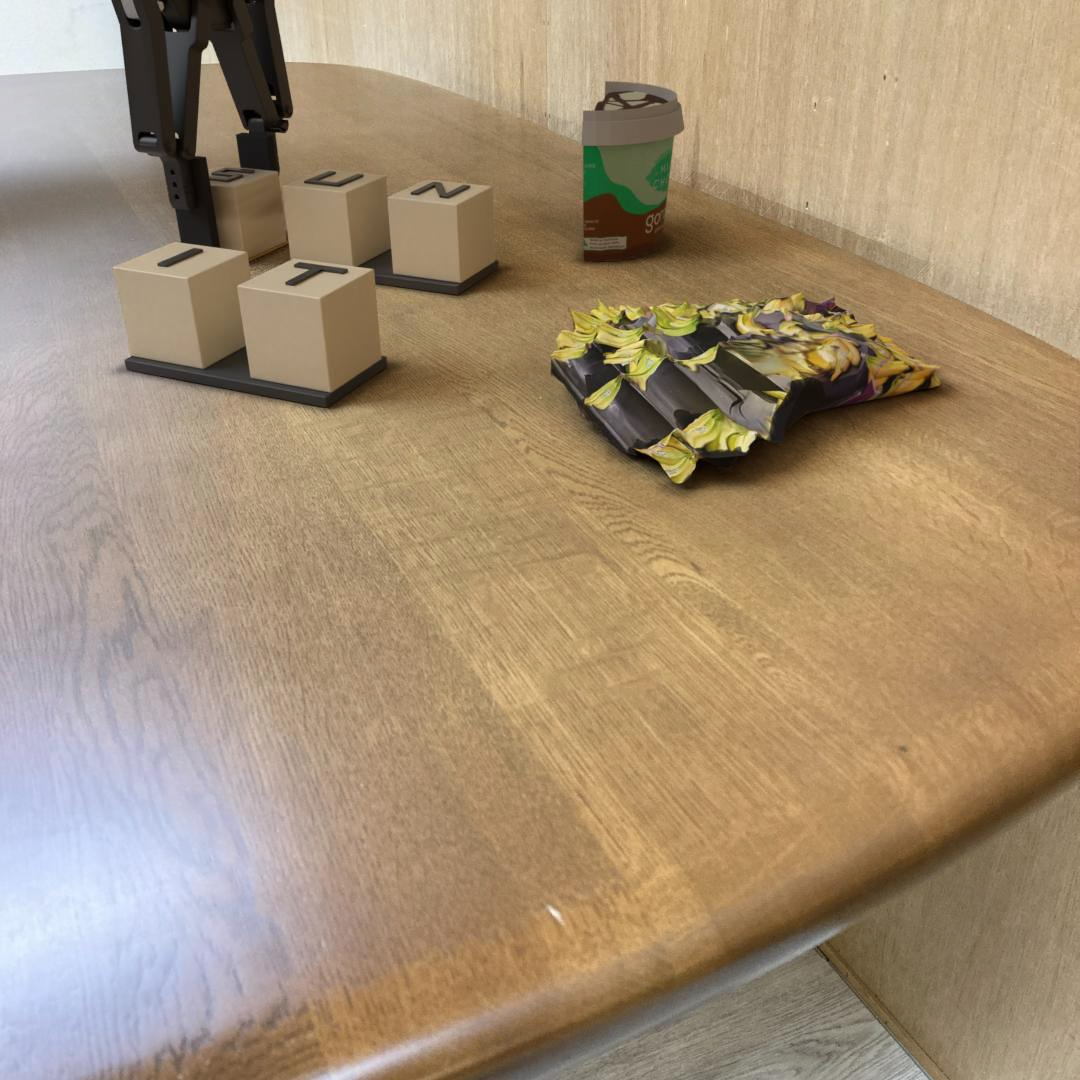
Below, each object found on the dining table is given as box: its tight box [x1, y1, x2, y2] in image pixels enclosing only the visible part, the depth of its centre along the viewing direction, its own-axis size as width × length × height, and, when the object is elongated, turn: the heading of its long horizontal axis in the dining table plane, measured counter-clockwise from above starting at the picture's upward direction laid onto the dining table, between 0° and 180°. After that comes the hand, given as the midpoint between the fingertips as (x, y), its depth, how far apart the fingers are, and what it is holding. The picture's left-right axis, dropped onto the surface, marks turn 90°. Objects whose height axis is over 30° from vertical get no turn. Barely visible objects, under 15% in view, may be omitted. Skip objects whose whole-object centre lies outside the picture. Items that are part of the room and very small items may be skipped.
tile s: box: [208, 165, 288, 259], centre depth 80 cm, size 5×5×5 cm
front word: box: [112, 241, 388, 408], centre depth 61 cm, size 13×6×6 cm, turn 66°
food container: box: [581, 80, 685, 262], centre depth 79 cm, size 12×6×10 cm, turn 170°
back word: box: [248, 168, 499, 296], centre depth 77 cm, size 22×6×6 cm, turn 66°
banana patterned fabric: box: [549, 292, 941, 484], centre depth 58 cm, size 20×16×7 cm
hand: (235, 239), depth 81 cm, fingers open, 7 cm apart
